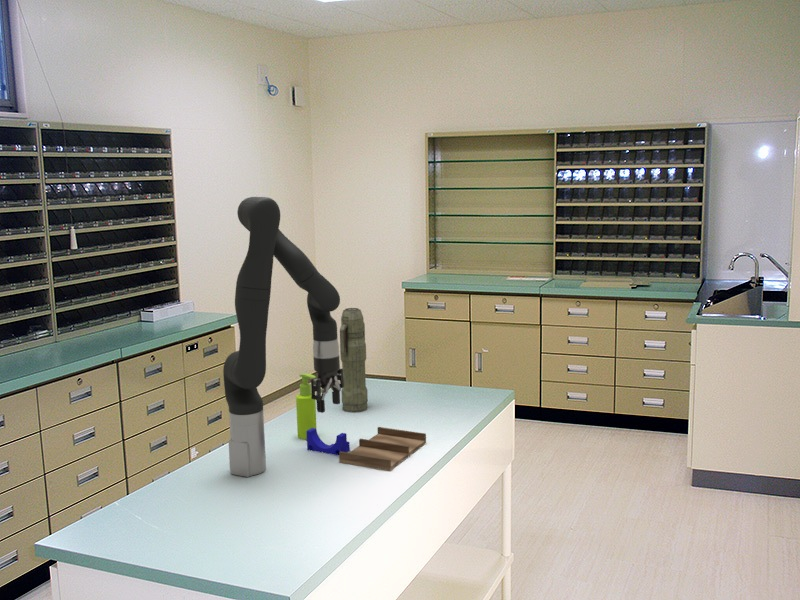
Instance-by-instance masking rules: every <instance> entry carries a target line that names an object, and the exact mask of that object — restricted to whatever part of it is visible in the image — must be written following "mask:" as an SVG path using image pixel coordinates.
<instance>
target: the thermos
mask: <svg viewBox="0 0 800 600" xmlns="http://www.w3.org/2000/svg"><path fill="white" fill-rule="evenodd" d="M340 321H341V322H340V324H341V325H340V327H339V342H340V343H339V356H340V360H341V367H342V368H341V369H343V379H344V387H343V388H341V391H340V393H341V403H342V411H344V412H347V413H361V412H365V411H366V410H367V409H368V400H369V398H368V397H369V396H368V393H369V392H368V388H367V386H366V385H367V381H366V360H367V344H366V330H365V329H366V328H365V322H364V315H363V312H362V310H361V309H359V308H358V307H348V308H345V309H343V310H342V313H341V318H340Z"/></svg>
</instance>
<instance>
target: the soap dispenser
mask: <svg viewBox="0 0 800 600" xmlns="http://www.w3.org/2000/svg"><path fill="white" fill-rule="evenodd" d="M299 377H300V378H301V381H302V382H301V383H300V384H299V394H297V395H296V396H295V402H296V403H295V405H296V425H297V426H296V427H297V428H296V429H297V438H298V439H300V440H306V441H307V430H309V429H311V428H315V429H317V402H316V400H315V399H312V398H311V383H309V379H310V380H311V379H317V376H316V375H314V374H311V373H307V372H306V373H300V374H299Z"/></svg>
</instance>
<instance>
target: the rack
mask: <svg viewBox="0 0 800 600" xmlns="http://www.w3.org/2000/svg"><path fill="white" fill-rule="evenodd" d="M425 444H427V433H426V432H425V433H424V432H418V431H410V430H409V431H408V430H403V429H397V428H396V429H395V428H390V427H389V428H388V427H382V426H378V427H377V434H375V435H374V436H372V437H371V438H369V439H366V438H365V439H364V438H359V439H358V446H356V447H355V448H354V449H352V450H350V451H349V452H342V451H340V452H339V455H338V459H339V461H338V462H339V463H342V464H347V465H348V464H349V465H354V466H358V467H363V468H364V467H366V468H370V469H377V470H382V471H387V472H388V471H389V472H391V471H392V470H393V469H394V468H396V467H397V466H398V465H400V464H401V463H402V462H403V461H405V460H406V459H407V458H409V457H410V456H412V455H413V454H414V453H415V452H416V451H418V450H419V449H420V448H422V447H423V446H424V445H425Z"/></svg>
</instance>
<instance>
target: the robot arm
mask: <svg viewBox="0 0 800 600" xmlns="http://www.w3.org/2000/svg"><path fill="white" fill-rule="evenodd" d="M237 218H238V220H239V223H240V224H241V225H242V226H243V227H244V229H246V230H247V231H248V232H249V238H248V241H249V242H248V249H247V253H246V256H245V257H244V260H243V263H242V265H241V267H240V269H239V272H238V274H237V278H236V281H235V282H236V283H235V293H234V295H235V296H234V308H235V309H234V310H235V316H236V320H237V324H238V329H239V347H238V350H236V351H234V352H232V353H230V354H228V356H227V357H226V359H225V361H224V363H223V367H222V368H223V386H224V395H225V400H226V404H227V406H228V417H229V433H230V434H229V436H230V439H229V440H228V458H229V459H228V460H229V472H230V473H229V474H230V475H236V476H241V477H245V478H249V477H251V476H255V475H256V476H257V475H260V474H261V473H264V472H265V471H266V470H267V460H266V458H267V457H266V455H267V454H266V441H265V440H266V438H265V437H266V436H265V435H266V434H265V419H264V418H265V415H264V400H263V398H262V397H261V395H260V393H259V391H258V387H259V386H260V385H261V384H262V383H263V381H264V379H265V377H266V373H267V372H266V371H267V349H266V348H267V347H266V346H267V331H268V319H269V308H270V302H271V293H272V292H271V290H272V276H273V270H274V269H273V267H274V258H275V259H276V260H277V262H278V263H279V264H280V265H281V267H282V268H283V269H284V270H285V272H287V274H288V275H289V276H290V278H291V280H293V282H295V283H296V285H297V286H298V287H299V288H300V289H302V290H304V291H306V292H307V295H306V304H307V311H308V313H309V317H310V321H311V323H312V337H313V338H312V339H313V343H312V354H313V355H312V357H313V370H314V372H316V373H317V376H316V378H313V379H310V384H311V398H312V399H315V402H316V412H317V413H324V412H325V411H326V408H325V407H326V406H325V405H326V403H325V397H326V394H327V393H328V392H329V390H330V389H331V391H332V392H331V397H332V398H331V399H332V404H333V405H340V403H341V395H340V394H341V390H342V388H343V387H344V379H343V369H342V368H341V365H340V364H341V362H340V360H341V359H340V343H339V341H338V340H339V337H338V336H339V335H338V324H337V321H336V320H335V318H333V317H332V315H331V312H335V310H337V309H338V308H339V307H340V304H341V297H340V293H339V292H338V289H337V288H336V287H335V286H334V285H333V284H332V283H331V282H330V281H329V280H328V279H327V278H326V277H325V276H324V275H322V274H321V273H320V272H319V271H318V269H317V268H316V266H315V265H314V264H313V262H312V261H311V260H310V259H309V257H308V256H307V255H306V254H305V252H304V251H302V250H301V249H300V247H298V245H296V244H295V243H294V242H292V241H291V240H290V239H288V237H287V236H286V235H285V234H284V233H283V232H282V230H280V229H279V228H280V222H281V210H280V206H279V205H278V202H277V201H276V200H274V199H273V198H271V197H266V196H250V197H246V198H244V199H243V200H241V202H240V203H239V205H238V207H237Z"/></svg>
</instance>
